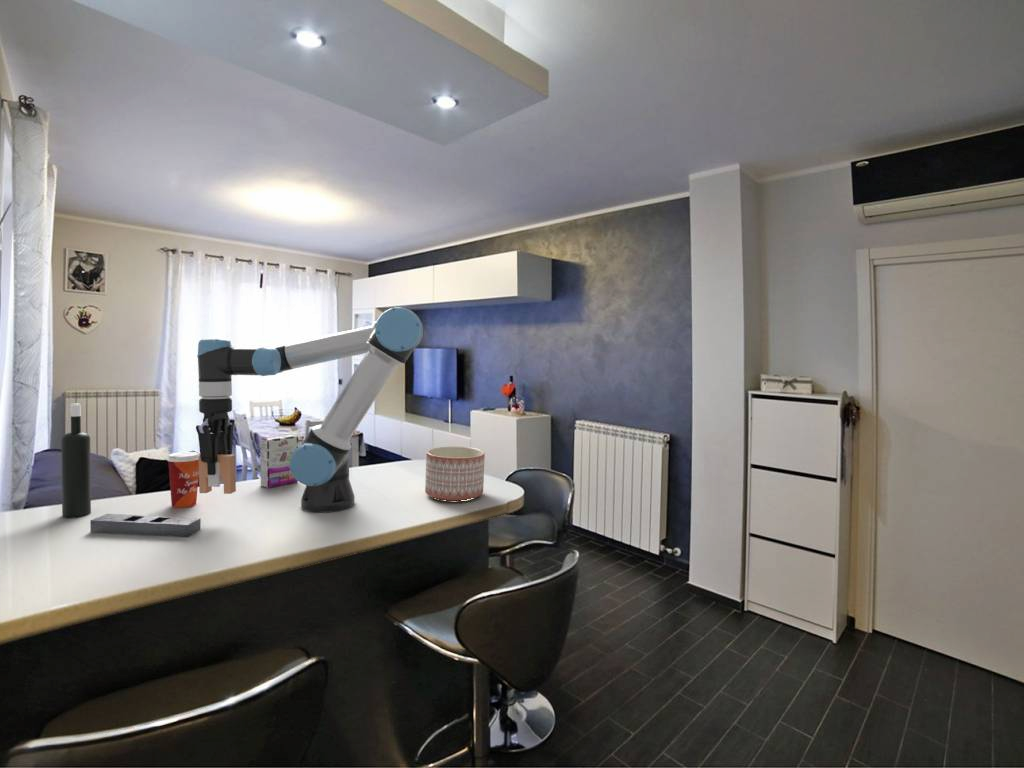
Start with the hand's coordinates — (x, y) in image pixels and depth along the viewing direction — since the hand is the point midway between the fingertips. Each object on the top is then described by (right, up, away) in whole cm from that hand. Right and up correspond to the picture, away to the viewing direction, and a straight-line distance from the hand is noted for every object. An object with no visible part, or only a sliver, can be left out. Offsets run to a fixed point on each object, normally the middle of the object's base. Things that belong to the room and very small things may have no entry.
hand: (217, 484), depth 133 cm
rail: (-12, -10, -9) cm, 18 cm away
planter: (+60, -10, +32) cm, 69 cm away
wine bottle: (-38, -8, 0) cm, 39 cm away
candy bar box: (-1, -8, +37) cm, 38 cm away
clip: (0, -2, 0) cm, 2 cm away
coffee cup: (-17, -9, +12) cm, 22 cm away
